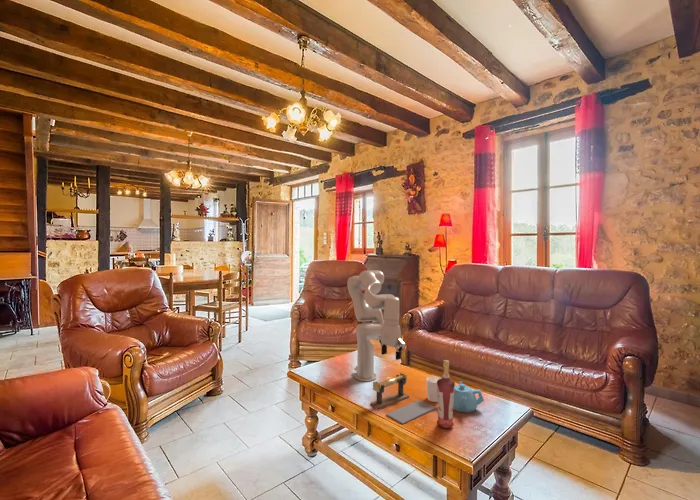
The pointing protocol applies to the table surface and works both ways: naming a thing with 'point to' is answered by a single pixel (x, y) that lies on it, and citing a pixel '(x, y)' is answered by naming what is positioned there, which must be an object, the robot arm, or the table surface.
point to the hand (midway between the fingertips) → (391, 356)
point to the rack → (392, 398)
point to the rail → (388, 382)
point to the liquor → (445, 398)
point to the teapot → (466, 398)
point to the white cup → (432, 388)
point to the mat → (411, 411)
